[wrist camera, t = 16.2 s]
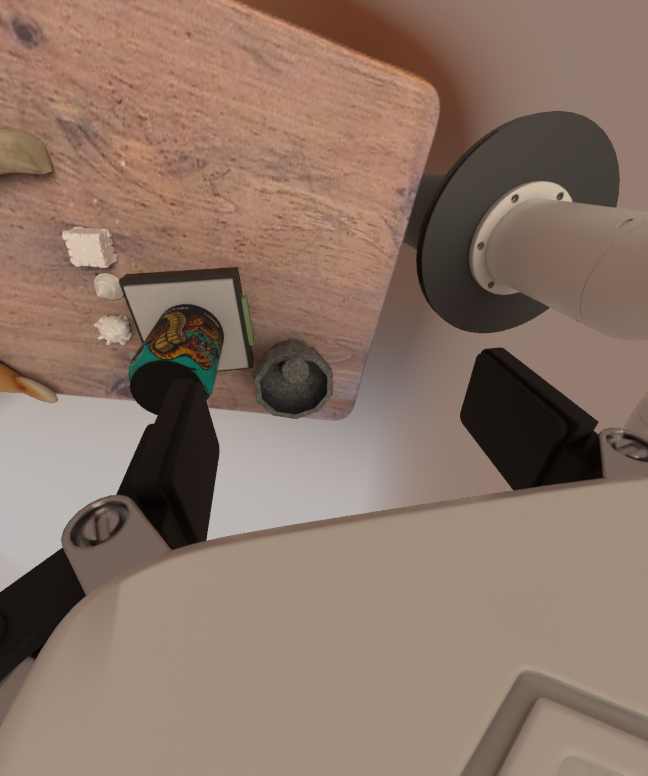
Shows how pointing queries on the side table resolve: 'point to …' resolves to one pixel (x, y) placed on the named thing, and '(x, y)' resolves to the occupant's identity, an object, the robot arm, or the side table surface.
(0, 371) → the toy
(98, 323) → the game pieces
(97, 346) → the side table surface
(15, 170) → the tan bone
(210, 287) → the scale
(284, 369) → the mortar and pestle
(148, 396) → the beverage can
